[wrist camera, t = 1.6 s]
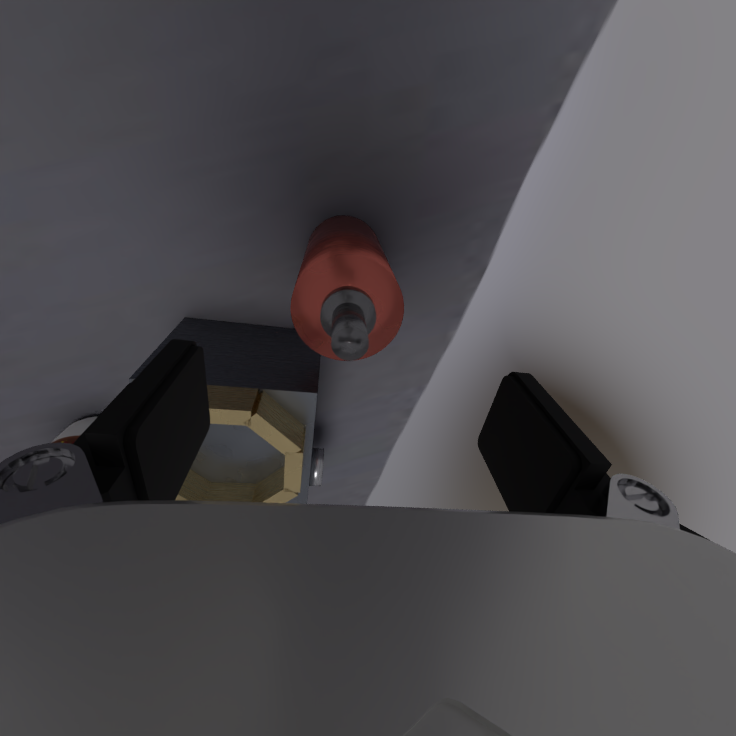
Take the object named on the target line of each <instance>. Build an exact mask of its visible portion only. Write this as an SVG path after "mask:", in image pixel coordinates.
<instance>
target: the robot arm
mask: <svg viewBox="0 0 736 736" xmlns="http://www.w3.org/2000/svg"><path fill="white" fill-rule="evenodd" d="M209 427H210V411H209V401H208V391H207V381H206V372H205V362H204V352H203V348H202V347H200V346H197V344H196V342H195V341H189V340H179V339H172V340H171V341H170V342H169V343H168V344H167V345H166V346H165V347H164V348H163V349H162V350H161V351H160V352H159V353H158V355H157V356H156V357H155V358H154V359H153V360H152V361H151V362H150V363H149V364H148V365H147V366H146V367H145V369H144V370H143V371H142V372H141V373H140V374H139V375H138V376H137V377H136V378H135V379H134V380H133V381H132V382H131V383H129V384H128V385H127V386H126V387H125V388H124V389H123V390H122V391H121V393H120V394H119V395H118V396H117V397H116V398H115V399H114V400H113V401H112V402H111V403H110V404H109V405H108V406H107V408H106V409H105V410H104V411H103V412H102V413H101V414H100V415H99V416H98V417H97V418H96V419H95V420H94V421H93V422H92V424H91V425H90V426H89V427H88V428H87V429H86V430H85V431H84V432H83V433H82V434H81V435H80V436H79V437H78V438H77V440H76V441H75V442H74V443H73V444H70V443H62V442H58V443H47V444H42V445H38V446H34V447H31V448H28V449H25V450H23V451H20V452H18V453H16V454H14V455H12V456H10V457H8V458H7V459H5V460H3V461H2V462H1V463H0V736H736V553H734V552H732V551H730V550H728V549H726V548H724V547H722V546H720V545H718V544H716V543H714V542H712V541H710V540H708V539H707V538H704V537H703V536H701V535H699V534H697V533H696V532H694V531H692V530H690V529H688V528H686V527H684V526H683V525H681V524H679V518H678V513H677V510H676V507H675V506H674V504H673V503H672V502H671V500H670V499H669V498H668V497H667V496H666V495H665V494H664V493H663V492H662V491H660V490H659V489H657V488H656V487H655V486H653V485H652V484H650V483H648V482H646V481H644V480H642V479H640V478H637V477H635V476H631V475H627V474H617V475H614V476H612V477H611V478H610V477H609V476H608V475H607V473H606V472H607V471H608V469H609V468H610V467H611V465H612V464H611V463H610V462H609V461H608V460H607V459H606V457H605V456H604V455H603V454H602V453H601V452H600V451H599V450H598V449H597V448H596V446H595V445H594V444H593V443H592V442H591V441H590V440H589V438H588V437H587V436H586V435H585V434H584V433H583V432H582V431H581V430H580V428H578V426H577V425H576V424H575V423H574V422H573V421H572V419H571V418H570V417H569V416H568V415H567V414H566V413H565V412H564V411H563V410H562V408H561V407H560V406H559V405H558V404H557V403H556V402H555V400H554V399H553V398H552V397H551V396H550V395H549V394H548V393H547V392H546V390H545V389H544V388H543V387H542V386H541V385H540V384H539V383H538V381H537V380H536V379H535V378H534V377H533V376H532V375H531V374H529V373H519V372H511V373H510V374H509V375H508V376H505V377H504V378H503V379H502V382H501V384H500V386H499V389H498V391H497V394H496V396H495V398H494V401H493V403H492V406H491V408H490V411H489V413H488V416H487V418H486V420H485V423H484V425H483V428H482V430H481V433H480V435H479V438H478V447H479V450H480V452H481V454H482V456H483V458H484V460H485V462H486V464H487V466H488V468H489V470H490V473H491V474H492V477H493V478H494V481H495V483H496V485H497V487H498V489H499V491H500V493H501V495H502V497H503V499H504V501H505V503H506V506H507V508H508V510H509V512H508V511H486V510H463V509H437V508H412V507H384V506H357V505H328V504H296V503H265V502H232V501H192V500H175V499H176V497H177V495H178V493H179V491H180V489H181V487H182V485H183V483H184V481H185V479H186V477H187V474H188V472H189V470H190V468H191V466H192V464H193V462H194V460H195V458H196V456H197V454H198V452H199V450H200V447H201V445H202V443H203V441H204V439H205V437H206V435H207V433H208V430H209Z"/></svg>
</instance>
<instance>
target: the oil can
mask: <svg viewBox="0 0 736 736" xmlns="http://www.w3.org/2000/svg"><path fill="white" fill-rule="evenodd" d="M403 314H404V302H403V296H402V292H401V290H400V287H399V285H398V283H397V281H396V278H395V276H394V274H393V272H392V270H391V267H390V265H389V263H388V261H387V259H386V256H385V254H384V252H383V250H382V248H381V245H380V243H379V241H378V239H377V237H376V235H375V233H374V231H373V230H372V229H371V228H370V227H369V226H368V225H367V224H366V223H365V222H363V221H362V220H360V219H358V218H355V217H352V216H345V215H342V216H335V217H331V218H329V219H327V220H325V221H323V222H322V223H321V224H319V225H318V226H317V227H316V229H315V230H314V231H313V233H312V235H311V237H310V239H309V242H308V246H307V249H306V252H305V255H304V259H303V262H302V265H301V268H300V272H299V275H298V278H297V281H296V284H295V288H294V291H293V295H292V299H291V317H292V321H293V324H294V327H295V329H296V331H297V333H298V335H299V336H300V338H301V339H302V340H303V341H304V342H305V344H306V345H308V346H309V347H310V348H311V349H312V350H314V351H315V352H317V353H319V354H321V355H323V356H325V357H328V358H331V359H335V360H342V361H352V360H359V359H364V358H367V357H369V356H372V355H374V354H376V353H378V352H379V351H381V350H382V349H383V348H385V347H386V346H387V345H388V344H389V343H390V342H391V341H392V340H393V338H394V337H395V336H396V334H397V332H398V330H399V328H400V326H401V323H402V320H403Z"/></svg>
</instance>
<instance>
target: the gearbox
mask: <svg viewBox="0 0 736 736" xmlns="http://www.w3.org/2000/svg"><path fill="white" fill-rule="evenodd" d="M172 339H179V340H189V341H195V342H196V344H197V346H200V347H202V348H203V352H204V362H205V372H206V381H207V391H208V401H209V411H210V427H209V430H208V433H207V435H206V437H205V439H204V441H203V443H202V445H201V447H200V450H199V452H198V454H197V456H196V458H195V460H194V462H193V464H192V466H191V468H190V470H189V472H188V474H187V477H186V479H185V481H184V483H183V485H182V487H181V489H180V491H179V493H178V495H177V497H176V499H175V500H192V501H232V502H265V503H296V504H307V498H308V488H309V486H321V482H322V472H323V459H324V449H321V448H312V445H313V434H314V423H315V413H316V402H317V391H318V379H319V366H320V354H319V353H317V352H315V351H314V350H312V349H311V348H310V347H309V346H308V345H306V344H305V342H304V341H303V340H302V339H301V338H300V336H299V335H298V333H297V331H296V329H290V328H280V327H271V326H261V325H251V324H241V323H232V322H222V321H212V320H202V319H193V318H184V319H183V320H182V321H181V322H180V323H179V324H178V326H177V327H176V328H175V329H174V330H173V331H172V332H171V333H170V334H169V335H168V337H167V338H166V339H165V340H164V341H163V342H162V343H161V344H160V345H159V346H158V348H157V349H156V350H155V351H154V352H153V353H152V354H151V355H150V356H149V357H148V359H147V360H146V361H145V362H144V363H143V364H142V365H141V366H140V367H139V368H138V370H137V371H136V372H135V373H134V374H133V375H132V376H131V377H130V378H129V380H130V383H131V382H132V381H133V380H134V379H135V378H136V377H137V376H138V375H139V374H140V373H141V372H142V371H143V370H144V369H145V367H146V366H147V365H148V364H149V363H150V362H151V361H152V360H153V359H154V358H155V357H156V356H157V355H158V353H159V352H160V351H161V350H162V349H163V348H164V347H165V346H166V345H167V344H168V343H169V342H170V341H171V340H172Z"/></svg>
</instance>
